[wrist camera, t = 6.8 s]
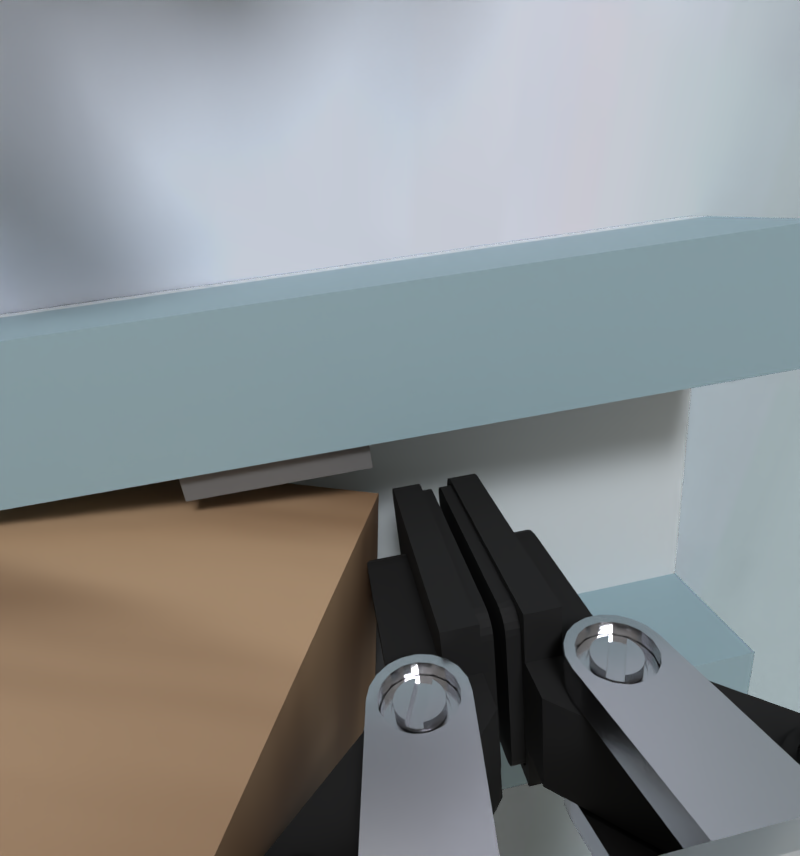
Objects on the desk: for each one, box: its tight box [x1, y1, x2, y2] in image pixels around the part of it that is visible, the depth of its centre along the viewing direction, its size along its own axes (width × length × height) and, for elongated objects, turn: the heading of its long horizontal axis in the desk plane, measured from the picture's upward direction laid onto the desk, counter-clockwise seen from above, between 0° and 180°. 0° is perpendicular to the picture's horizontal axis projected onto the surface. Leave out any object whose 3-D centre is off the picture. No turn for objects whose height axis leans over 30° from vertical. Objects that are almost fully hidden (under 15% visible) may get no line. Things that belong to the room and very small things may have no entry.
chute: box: [0, 216, 800, 789], centre depth 11 cm, size 11×17×3 cm, turn 97°
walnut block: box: [0, 479, 379, 856], centre depth 8 cm, size 5×6×7 cm
